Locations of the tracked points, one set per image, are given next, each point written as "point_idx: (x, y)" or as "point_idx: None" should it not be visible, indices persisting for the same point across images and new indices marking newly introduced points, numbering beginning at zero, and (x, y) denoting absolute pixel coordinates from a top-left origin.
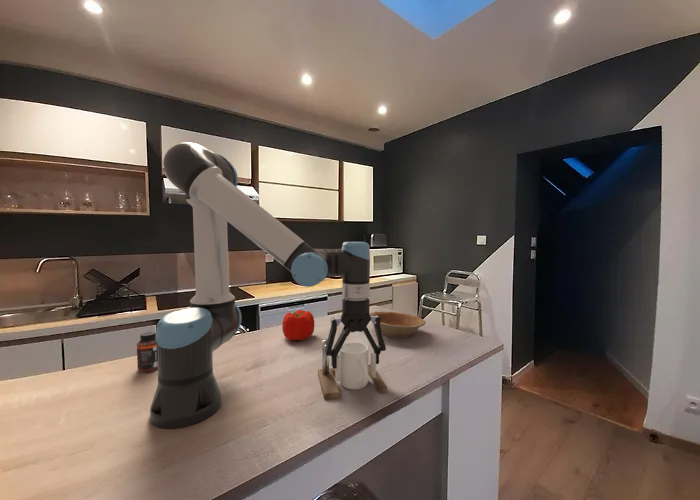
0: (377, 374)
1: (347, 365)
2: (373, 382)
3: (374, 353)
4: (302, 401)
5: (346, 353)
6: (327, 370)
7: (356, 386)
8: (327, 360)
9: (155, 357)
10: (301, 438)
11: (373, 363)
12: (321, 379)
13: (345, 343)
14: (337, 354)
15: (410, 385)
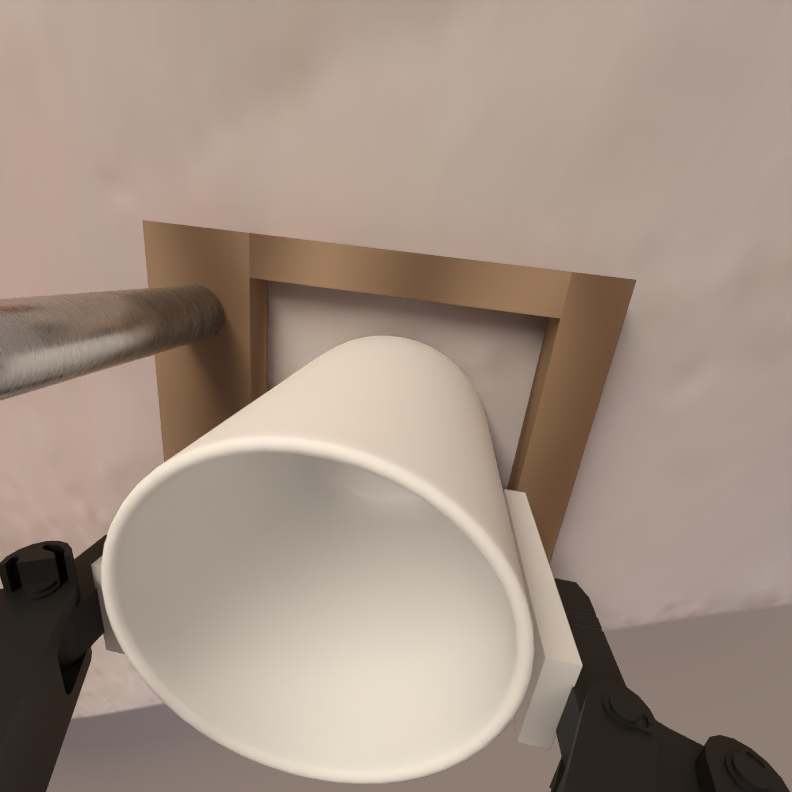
0: (569, 465)
1: (260, 596)
2: (511, 472)
3: (547, 729)
4: (92, 495)
5: (181, 705)
6: (188, 343)
7: (370, 517)
8: (121, 363)
9: None
10: (105, 677)
11: None
12: (164, 387)
13: (210, 454)
14: (80, 681)
15: (715, 583)
